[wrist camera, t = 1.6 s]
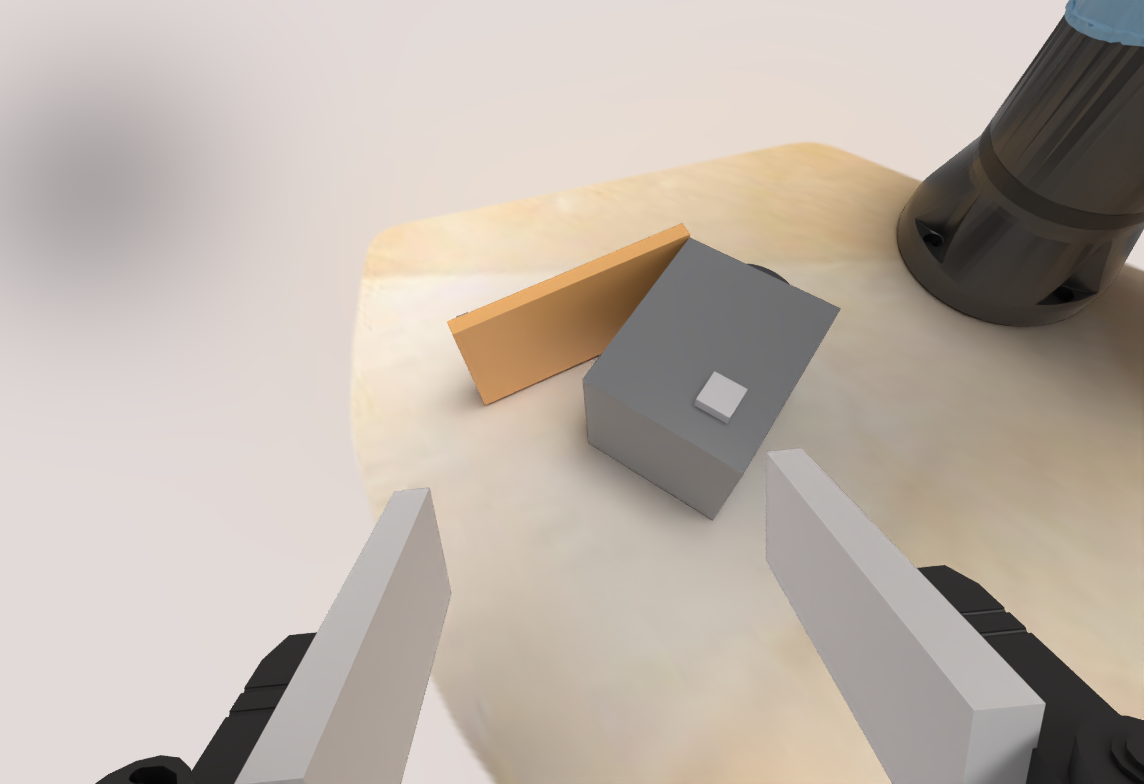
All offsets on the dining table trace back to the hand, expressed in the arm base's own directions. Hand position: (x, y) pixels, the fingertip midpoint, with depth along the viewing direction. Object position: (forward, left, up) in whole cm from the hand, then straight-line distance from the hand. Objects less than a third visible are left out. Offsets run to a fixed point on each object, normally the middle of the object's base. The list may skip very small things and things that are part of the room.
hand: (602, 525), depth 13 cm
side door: (-15, -13, -26) cm, 33 cm away
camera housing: (-17, -3, -27) cm, 31 cm away
